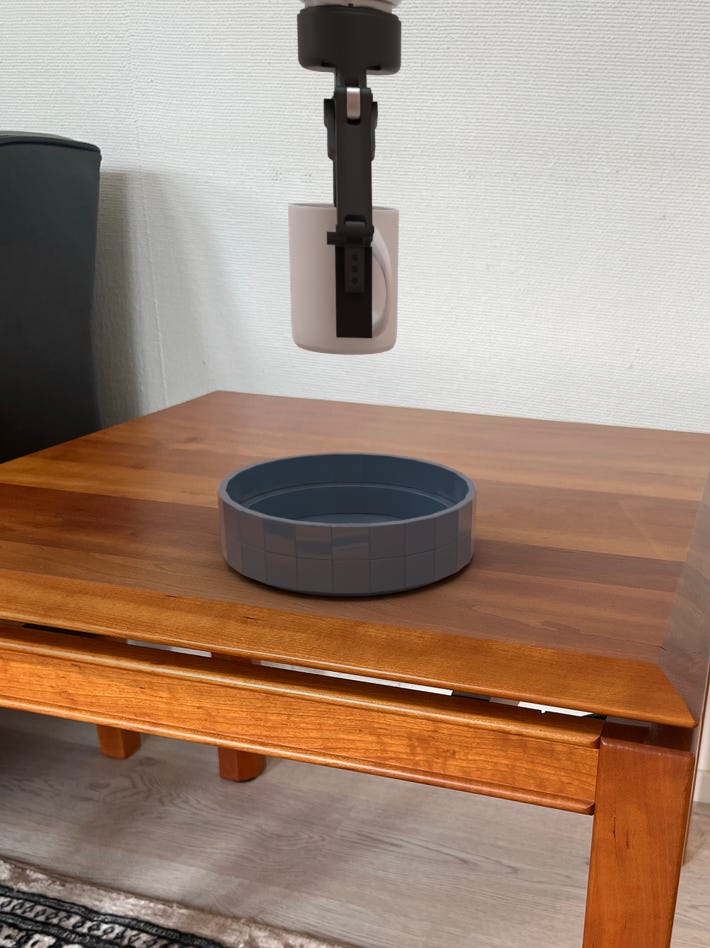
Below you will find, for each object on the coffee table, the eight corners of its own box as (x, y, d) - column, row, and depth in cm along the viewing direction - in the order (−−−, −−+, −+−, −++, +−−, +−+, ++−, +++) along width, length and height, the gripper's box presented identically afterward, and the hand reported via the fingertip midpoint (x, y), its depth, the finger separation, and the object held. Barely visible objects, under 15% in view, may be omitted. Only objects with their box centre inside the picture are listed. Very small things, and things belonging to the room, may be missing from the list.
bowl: (210, 603, 69) (203, 526, 67) (235, 515, 87) (231, 451, 84) (488, 599, 72) (492, 525, 70) (459, 514, 89) (461, 452, 87)
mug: (337, 366, 76) (335, 211, 72) (275, 340, 85) (270, 201, 81) (436, 360, 81) (441, 214, 76) (367, 336, 90) (368, 204, 85)
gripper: (415, -11, 64) (409, 351, 73) (390, 31, 84) (388, 308, 94) (293, -20, 63) (303, 349, 72) (298, 24, 83) (305, 306, 93)
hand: (351, 326), depth 83 cm, fingers closed on mug, 11 cm apart
